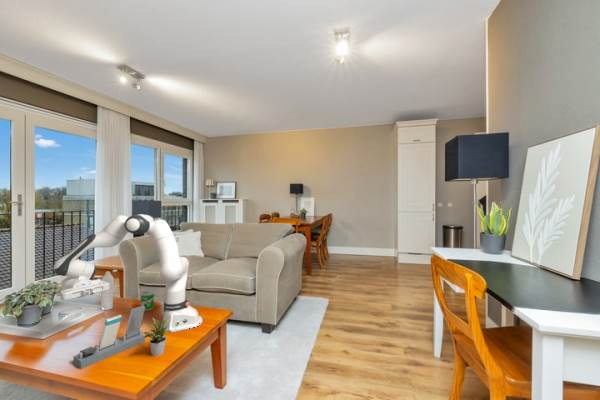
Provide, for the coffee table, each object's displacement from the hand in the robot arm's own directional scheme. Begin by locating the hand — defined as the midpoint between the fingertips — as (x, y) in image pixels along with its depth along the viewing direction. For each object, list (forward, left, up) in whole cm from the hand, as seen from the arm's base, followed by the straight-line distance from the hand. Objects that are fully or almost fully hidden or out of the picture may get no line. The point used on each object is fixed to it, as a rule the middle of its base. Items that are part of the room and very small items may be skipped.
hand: (92, 293), depth 134 cm
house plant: (-33, +17, -26) cm, 46 cm away
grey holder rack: (-12, +11, -26) cm, 30 cm away
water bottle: (+8, -51, -26) cm, 57 cm away
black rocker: (-5, +17, -21) cm, 27 cm away
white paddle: (-10, +12, -22) cm, 27 cm away
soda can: (-17, -41, -26) cm, 51 cm away
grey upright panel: (-19, +5, -22) cm, 29 cm away
